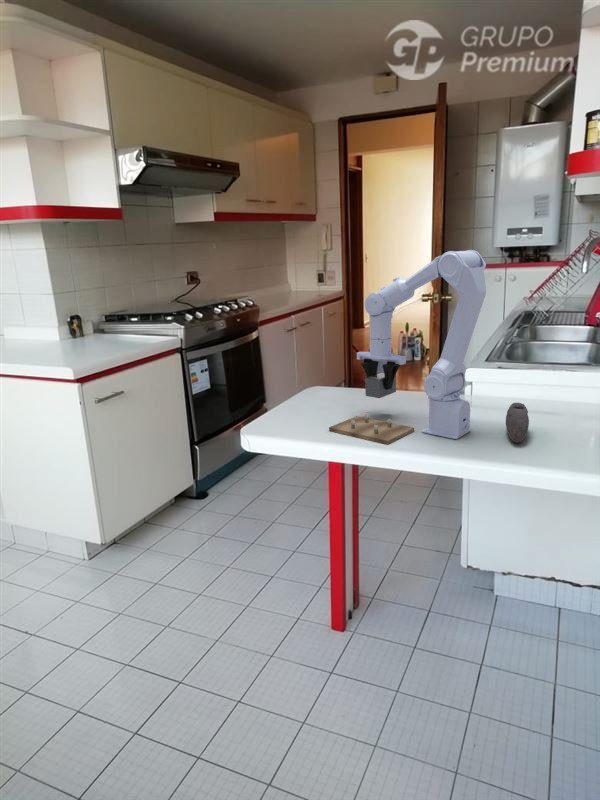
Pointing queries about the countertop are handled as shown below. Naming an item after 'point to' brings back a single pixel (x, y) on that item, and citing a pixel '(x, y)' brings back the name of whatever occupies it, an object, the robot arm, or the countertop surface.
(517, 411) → the perforated stone tool
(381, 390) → the block
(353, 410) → the countertop surface
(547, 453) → the countertop surface
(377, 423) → the pin tray
